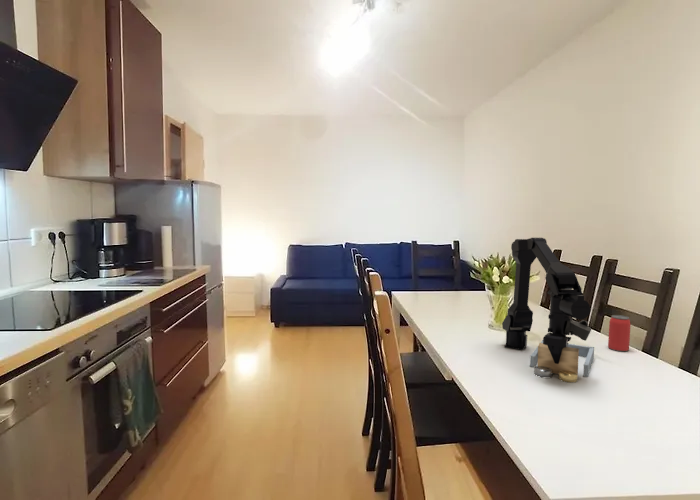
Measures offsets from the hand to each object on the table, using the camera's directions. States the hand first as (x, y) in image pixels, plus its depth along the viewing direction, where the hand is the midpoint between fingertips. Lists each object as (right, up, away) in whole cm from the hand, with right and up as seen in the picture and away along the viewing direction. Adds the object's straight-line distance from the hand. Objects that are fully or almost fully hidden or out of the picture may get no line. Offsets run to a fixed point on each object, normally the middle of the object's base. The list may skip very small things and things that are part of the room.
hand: (557, 361), depth 139 cm
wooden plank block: (0, -3, +1) cm, 3 cm away
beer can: (+34, -2, +26) cm, 43 cm away
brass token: (+1, -4, -5) cm, 6 cm away
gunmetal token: (-5, -4, -1) cm, 6 cm away
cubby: (+7, -3, +11) cm, 13 cm away
